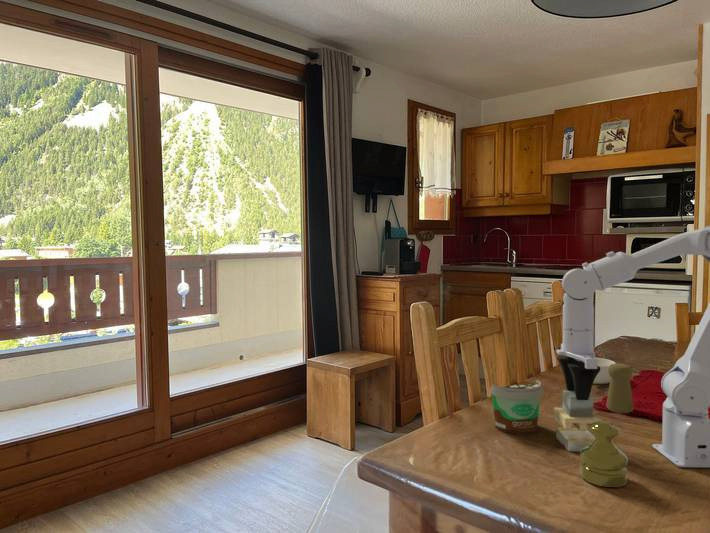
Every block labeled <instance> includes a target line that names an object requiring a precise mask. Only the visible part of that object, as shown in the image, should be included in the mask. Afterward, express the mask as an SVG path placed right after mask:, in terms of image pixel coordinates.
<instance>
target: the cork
mask: <svg viewBox="0 0 710 533" xmlns="http://www.w3.org/2000/svg"><path fill="white" fill-rule="evenodd" d="M608 373H609V375H610V377H611V379H610V382H609V386H608V393H607V400H606V405H605V407H606V406H607V408H608V409H609V410H608V409H607V410H608V411H610V410H611V411H610V412H613V413H617V414H630V413H629V412H632V411H633V410H634V411H635V409H634V400H633V394H632V393H633V392H632V386H631V378H632V376H633V368H632V367H631V366H630V365H629V364H625V363H620V362H619V363H617V362H616V364H611V365H610V366H609V368H608ZM632 413H633V412H632Z"/></svg>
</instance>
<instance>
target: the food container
mask: <svg viewBox="0 0 710 533" xmlns="http://www.w3.org/2000/svg"><path fill="white" fill-rule="evenodd" d="M544 393H545V392H544V389H543V385H542V383H541V381H540V380H538V379H535V383H529V384H527V383H526V384H523V383H522V384H521V383H515V384H514V383H513V384H510V385H506V386H499V385H495V384H492V383H491V386H490V388H489V394H490V395H492V404H493V405H492V406H493V414H494V425H495V427H494V428H495V429H496V428H497V429H496V430H498V429H499V430H498V431H500V430H502V431H501V432H503V431H505V432H504V433H506V432H510V433H509V434H511V433H516V434H515V435H529V434H528V433H530V434H533V433H535V432H536V431H537V429H538V422H539V412H540V402H541V397H543V395H544ZM532 432H533V433H532Z"/></svg>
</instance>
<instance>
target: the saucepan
mask: <svg viewBox="0 0 710 533" xmlns="http://www.w3.org/2000/svg"><path fill="white" fill-rule="evenodd" d="M596 358H597V365H598V366H599V367H600V372H599V373H598V374H597V376H596V378H595V380H594V382H593V384H595V385H606V384H610V379H611V377H610V375H609V373H608V368H609V366H610V365H611V364H617V362H616V361H614V360H611V359H608V358H601V357H596Z"/></svg>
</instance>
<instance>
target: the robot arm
mask: <svg viewBox="0 0 710 533" xmlns="http://www.w3.org/2000/svg"><path fill="white" fill-rule="evenodd" d="M605 255H606V256H604V257H603V258H601V259H597V260H595V261H593V262H590V263H588V262H587V261H586V262H584V263H581V265H582V268H573V269H569V270H568V271H567V272H566V273H565V274H564V275H563V277H562V281H561V287H562V290H564V294H563V297H562V300H563V305H562V343H560V349H556V354H557V355H560V356H557V357H556V359H557V361H558V364H559V365H560V368H561V370H562V373H563V377H564V383H565V387H566V391H575V396H576V399H577V400H588V399H589V396H590V395H591V391H592V388H593V382H594V380H595V378H596V376H597V374H598V373H599V372H600V367H599V366H598V365H597V358H598V357H596V352H595V349H594V342H595V341H594V340H595V339H594V338H595V337H594V335H595V333H594V332H595V328H594V327H595V326H594V325H595V324H594V322H595V321H594V320H595V317H594V316H595V314H594V313H595V307H594V304H593V303H594V302H593V300H594V298H593V296H594V294H595V292H596V291H604V290H606V289H609V288H612V287H614V286H617V285H620V284H622V283H625V282H629V281H630V280H633V279H634V278H635V276H636V274H637V271H638V270H640V269H644V268H646V267H650V266H652V265H655V264H658V263H661V262H664V261H666V260H669V259H672V258H675V257H678V256H682V255H692V256H693V255H694V256H701V257H703V258H704V259H705V260H706V261H707V262H708V263H710V225H707V226H704V227H703V228H698V229H694V230H689V231H686V232H681V233H680V234H676V235H673V236H672V237H669V238H666V239H665V240H662V241H660V242H657V243H655V244H652V245H651V246H649V247H645V248H644V249H641V250H639V251H636V252H634V253H630V254H628V253H626V252H623V251H618V252H616V253H615V252H614V251H609V252H607V253H605ZM660 384H661V385H660V386H661V389H662V391H663V394H665V396H667V397H665V398H666V399H665V400H664V401H663V402H662V430H661V431H662V436H661V437H662V440H661V443H660V444H659V443H657V444H656V443H653V444H652V447H653V448H654V449H655V450H656V451H658V452H659V453H660V454H661V455H663V456H664V457H665V458H666V459H667V460H668V461H671V462H672V463H673V464H674V465H675V466H677V467H679V468H710V418H709V408H710V302H709V303H708V305H707V307H706V309H705V311H704V313H703V316H702V317H701V319H700V322H699V324H698V326H697V328H696V330H695V332H694V334H693V336H692V339H691V341H690V342H689V345H688V346H687V349H686V350H685V352H684V354H683V355H682V356H681V357H680V358H678V359H677V361H675V364H674V365H673V367H672V368H671V369H670V370H668V371H667V372H666V373H665V374H663V375H662V378H661V381H660Z"/></svg>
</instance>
